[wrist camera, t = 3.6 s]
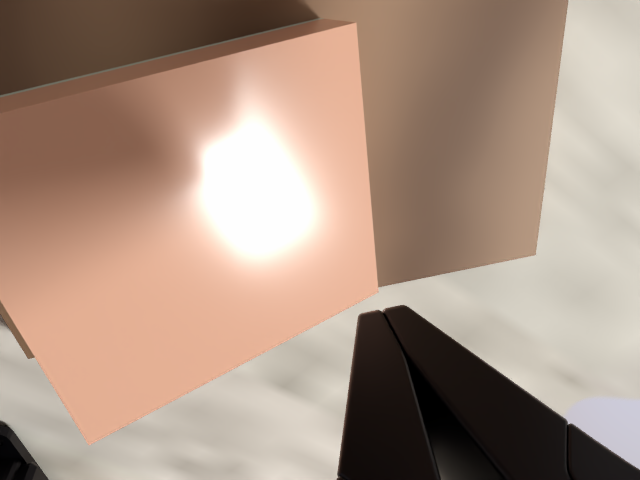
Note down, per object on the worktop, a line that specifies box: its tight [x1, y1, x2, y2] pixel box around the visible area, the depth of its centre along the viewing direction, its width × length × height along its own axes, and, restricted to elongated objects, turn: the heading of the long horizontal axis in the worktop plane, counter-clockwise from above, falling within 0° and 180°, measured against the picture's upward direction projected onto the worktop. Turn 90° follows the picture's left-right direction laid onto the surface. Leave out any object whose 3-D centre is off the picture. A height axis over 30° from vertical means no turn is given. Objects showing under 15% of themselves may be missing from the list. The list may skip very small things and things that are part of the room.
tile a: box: [0, 18, 378, 445], centre depth 12 cm, size 2×8×9 cm
